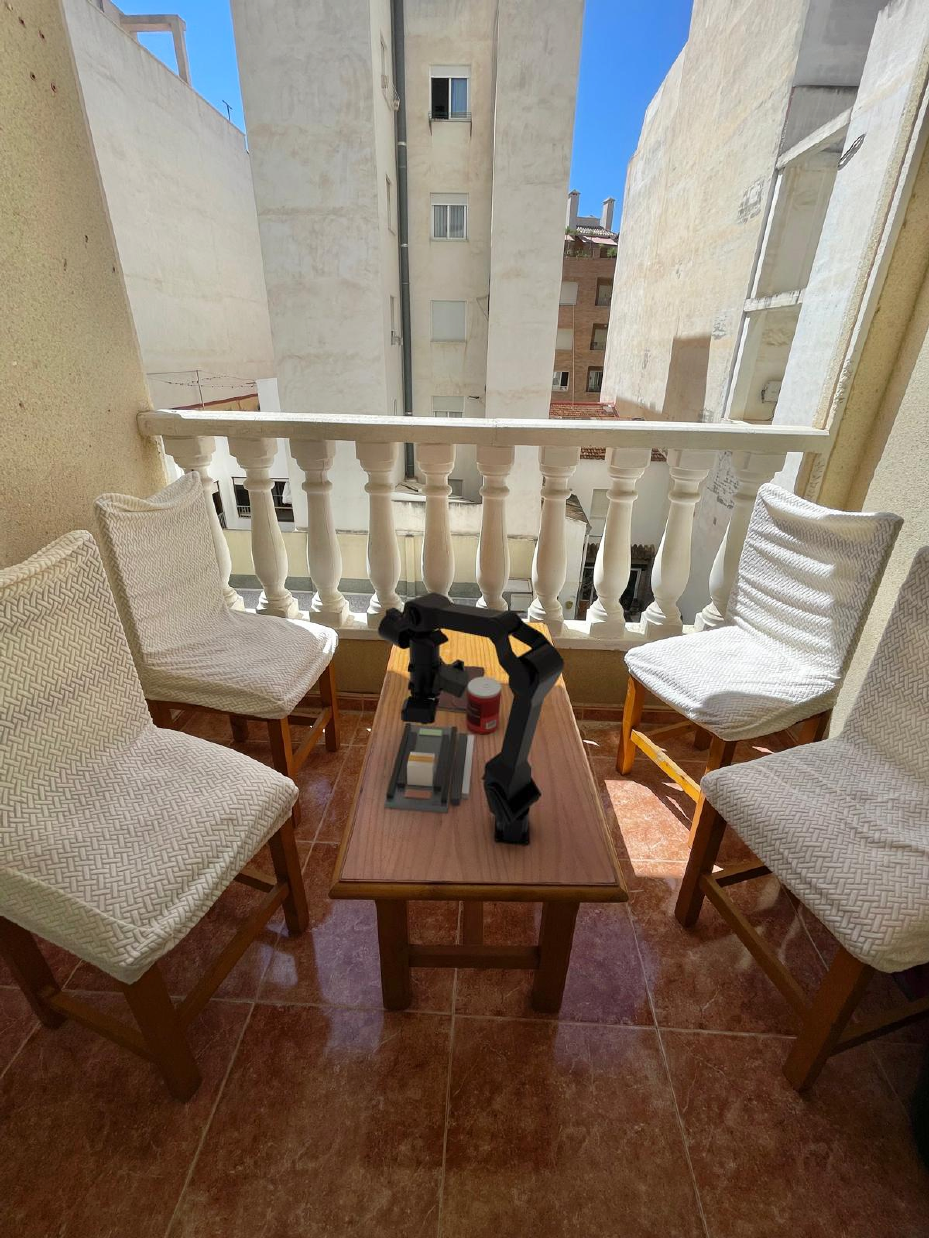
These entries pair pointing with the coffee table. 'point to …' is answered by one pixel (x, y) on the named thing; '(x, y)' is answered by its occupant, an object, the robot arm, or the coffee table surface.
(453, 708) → the notebook
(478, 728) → the canned food
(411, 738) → the panel
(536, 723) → the robot arm
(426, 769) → the toggle
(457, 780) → the long gray rectangular block
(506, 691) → the coffee table surface
